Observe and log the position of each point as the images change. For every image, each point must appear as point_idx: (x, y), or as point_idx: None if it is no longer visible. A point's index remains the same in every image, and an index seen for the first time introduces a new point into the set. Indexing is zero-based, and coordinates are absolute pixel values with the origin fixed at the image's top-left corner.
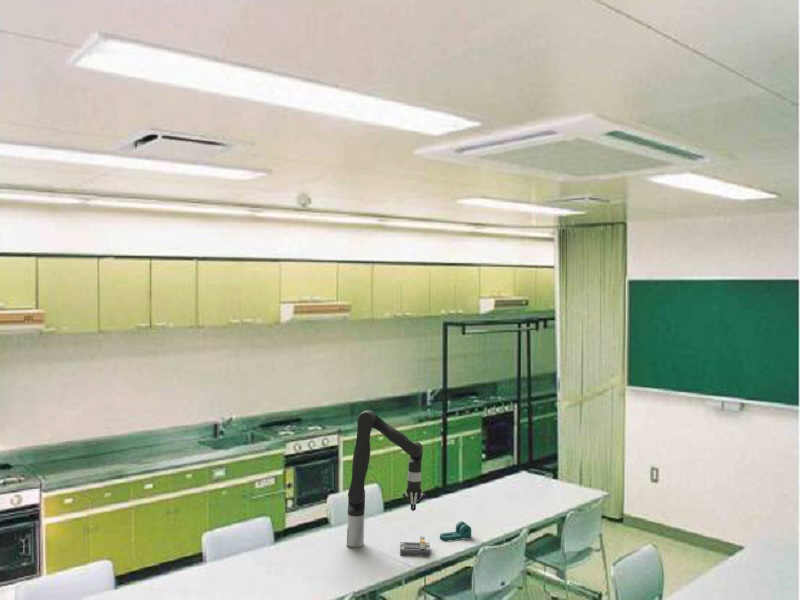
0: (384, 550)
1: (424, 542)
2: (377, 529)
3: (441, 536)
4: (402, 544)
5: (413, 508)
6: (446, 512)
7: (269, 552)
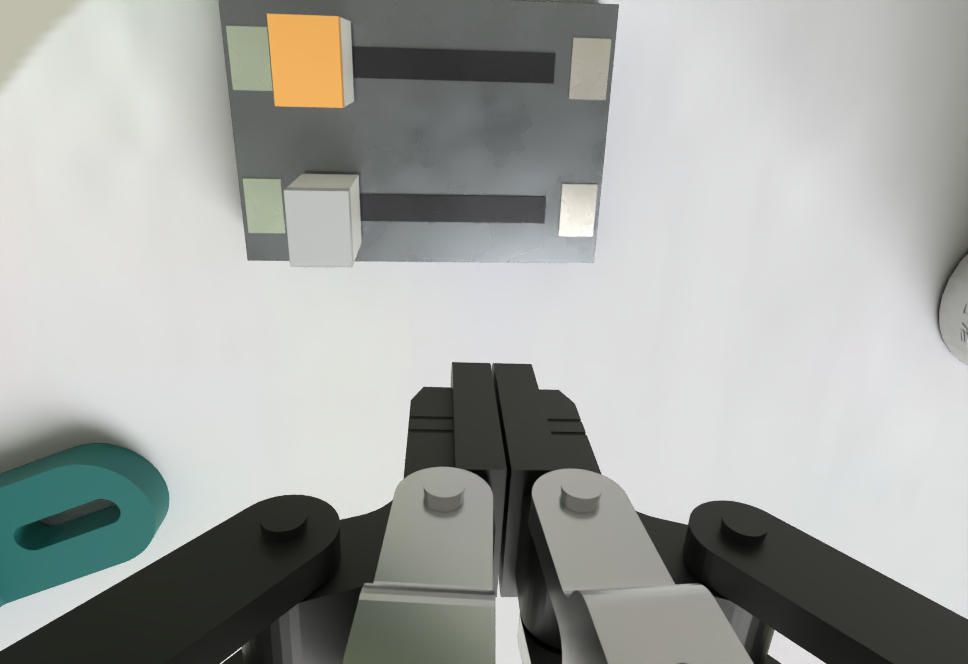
0: (758, 154)
1: (278, 15)
2: None
3: (133, 483)
4: (576, 184)
5: (488, 394)
6: None
7: None
